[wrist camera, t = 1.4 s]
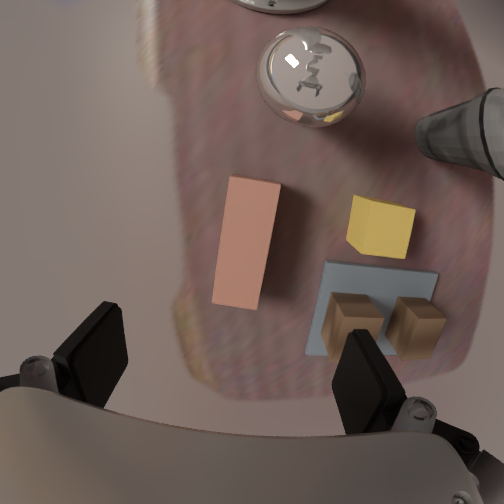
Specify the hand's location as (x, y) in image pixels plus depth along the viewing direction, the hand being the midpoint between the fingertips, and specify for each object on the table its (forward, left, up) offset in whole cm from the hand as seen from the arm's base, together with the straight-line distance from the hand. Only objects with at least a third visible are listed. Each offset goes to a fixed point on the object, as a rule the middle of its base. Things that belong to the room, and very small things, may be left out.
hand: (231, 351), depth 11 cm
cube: (-3, +12, -17) cm, 21 cm away
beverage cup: (-13, +18, -17) cm, 28 cm away
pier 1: (+7, +11, -16) cm, 21 cm away
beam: (0, 0, -17) cm, 17 cm away
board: (+7, +15, -17) cm, 24 cm away
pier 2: (+7, +19, -16) cm, 26 cm away
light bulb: (-13, +3, -17) cm, 22 cm away
